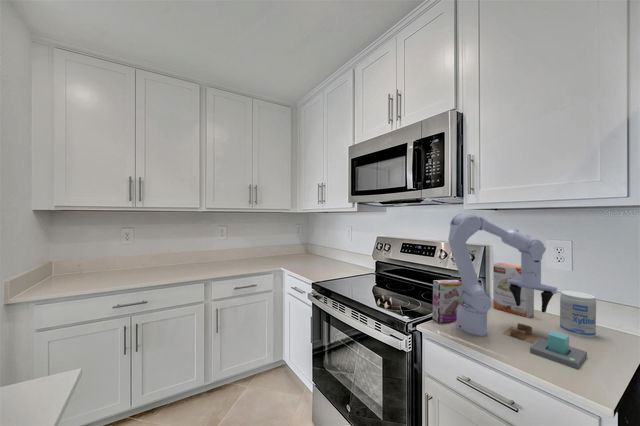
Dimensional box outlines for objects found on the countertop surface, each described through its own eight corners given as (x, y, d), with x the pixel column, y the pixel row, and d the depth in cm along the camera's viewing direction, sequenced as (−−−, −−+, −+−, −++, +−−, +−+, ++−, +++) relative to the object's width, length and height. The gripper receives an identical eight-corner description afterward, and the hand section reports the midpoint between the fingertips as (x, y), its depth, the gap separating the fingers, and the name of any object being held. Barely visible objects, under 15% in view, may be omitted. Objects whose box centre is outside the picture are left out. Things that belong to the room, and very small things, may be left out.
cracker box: (492, 308, 124) (492, 263, 124) (500, 306, 127) (500, 262, 126) (526, 319, 111) (526, 269, 111) (534, 317, 114) (534, 268, 114)
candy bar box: (438, 324, 107) (438, 283, 107) (432, 319, 112) (432, 279, 112) (464, 322, 108) (464, 282, 108) (456, 317, 113) (457, 279, 113)
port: (529, 355, 83) (529, 346, 83) (541, 345, 90) (541, 336, 90) (578, 372, 75) (578, 362, 75) (587, 359, 81) (587, 350, 81)
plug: (547, 356, 83) (548, 334, 83) (552, 353, 85) (552, 331, 85) (564, 362, 79) (565, 339, 79) (568, 358, 82) (569, 335, 82)
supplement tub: (576, 340, 93) (576, 298, 93) (552, 328, 103) (553, 290, 103) (604, 340, 93) (604, 298, 93) (578, 328, 103) (578, 290, 103)
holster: (501, 336, 96) (501, 326, 96) (511, 329, 102) (511, 320, 102) (532, 346, 89) (532, 336, 89) (541, 338, 94) (541, 329, 94)
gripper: (560, 273, 94) (559, 312, 94) (512, 266, 106) (511, 300, 106) (554, 276, 90) (553, 316, 90) (504, 269, 102) (504, 304, 102)
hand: (530, 308), depth 98 cm, fingers open, 7 cm apart
